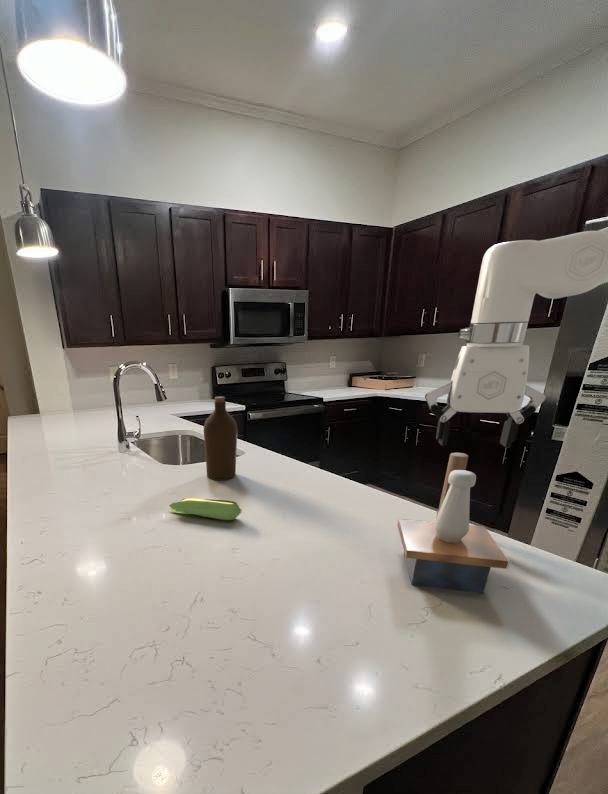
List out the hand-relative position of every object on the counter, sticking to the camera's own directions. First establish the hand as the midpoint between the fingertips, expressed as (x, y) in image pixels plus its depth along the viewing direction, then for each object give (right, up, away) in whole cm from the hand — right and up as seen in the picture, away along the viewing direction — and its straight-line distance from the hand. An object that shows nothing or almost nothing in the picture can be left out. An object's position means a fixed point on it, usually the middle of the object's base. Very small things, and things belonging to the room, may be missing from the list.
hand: (473, 444), depth 71 cm
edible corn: (-48, -13, +36) cm, 61 cm away
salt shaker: (0, -17, +7) cm, 18 cm away
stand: (0, -23, +10) cm, 25 cm away
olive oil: (-43, 0, +65) cm, 78 cm away
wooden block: (+8, -17, +25) cm, 31 cm away
